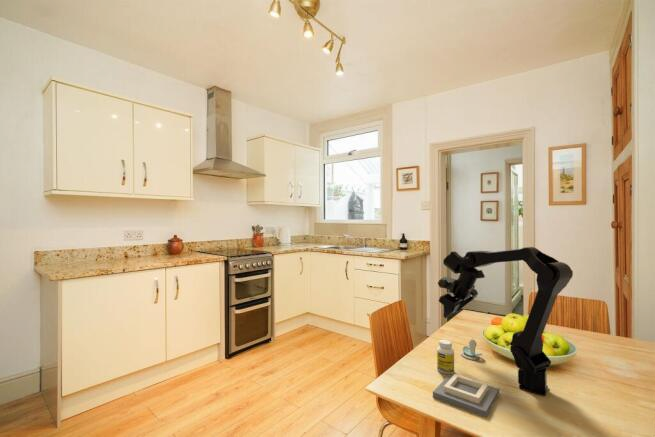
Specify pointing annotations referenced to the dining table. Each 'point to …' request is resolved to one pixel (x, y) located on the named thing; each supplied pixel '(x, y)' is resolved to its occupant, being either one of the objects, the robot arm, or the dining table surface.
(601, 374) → the dining table surface
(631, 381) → the dining table surface
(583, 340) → the dining table surface
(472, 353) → the pacifier
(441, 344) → the supplement bottle
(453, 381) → the plate
